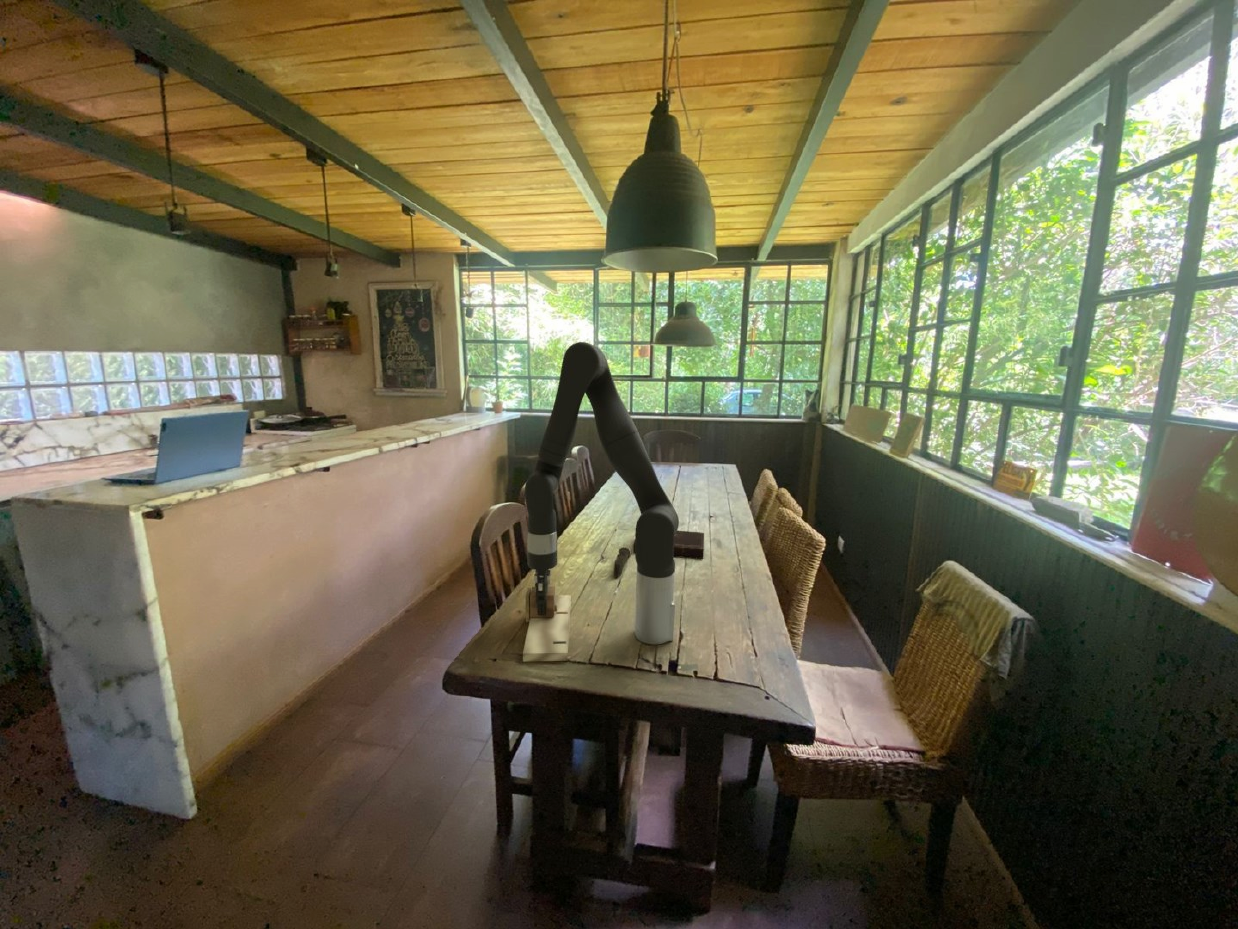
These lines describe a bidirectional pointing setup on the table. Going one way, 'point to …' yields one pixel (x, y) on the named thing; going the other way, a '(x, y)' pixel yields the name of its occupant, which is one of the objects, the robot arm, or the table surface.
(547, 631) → the board
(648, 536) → the robot arm
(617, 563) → the hand tool
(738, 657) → the table surface
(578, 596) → the table surface
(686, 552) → the diary
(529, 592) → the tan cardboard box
